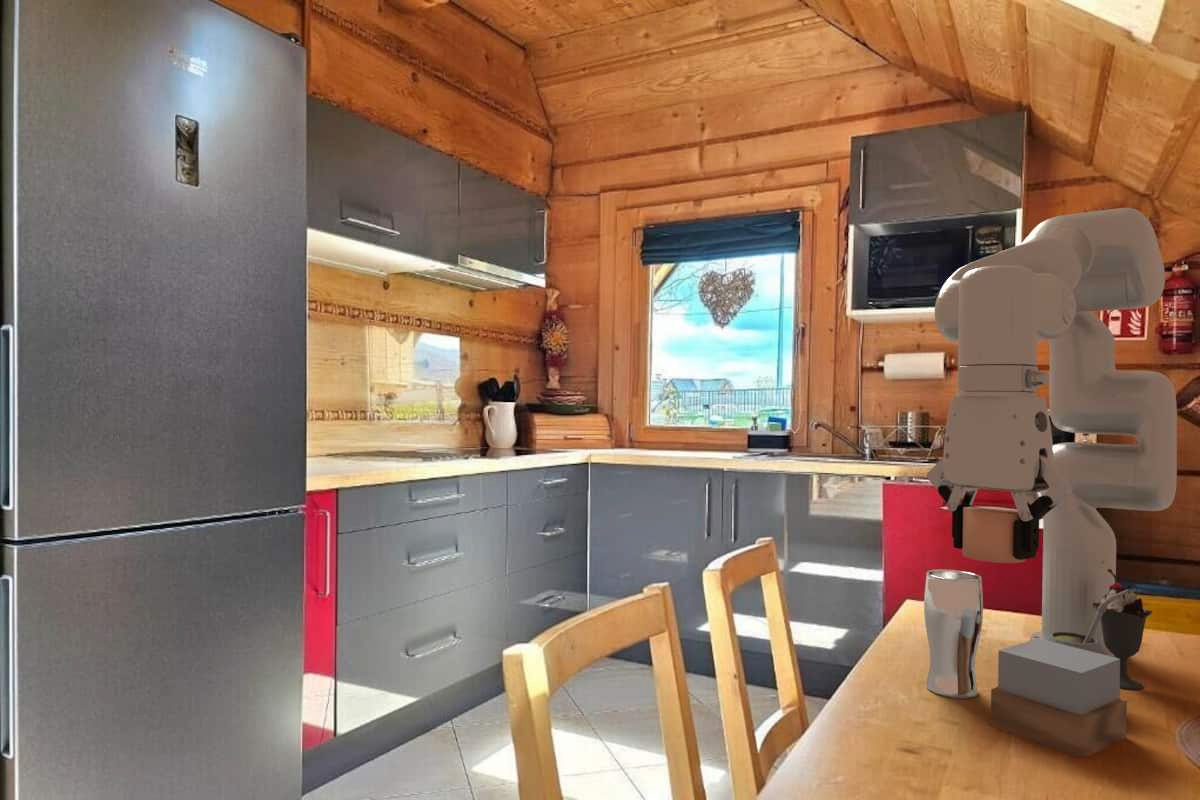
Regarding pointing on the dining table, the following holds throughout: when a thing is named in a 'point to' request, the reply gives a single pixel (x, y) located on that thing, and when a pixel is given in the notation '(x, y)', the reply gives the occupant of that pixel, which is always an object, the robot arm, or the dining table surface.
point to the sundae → (1123, 628)
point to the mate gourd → (1088, 641)
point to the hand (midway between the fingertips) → (993, 550)
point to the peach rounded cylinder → (989, 534)
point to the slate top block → (1059, 675)
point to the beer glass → (953, 631)
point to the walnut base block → (1059, 723)
